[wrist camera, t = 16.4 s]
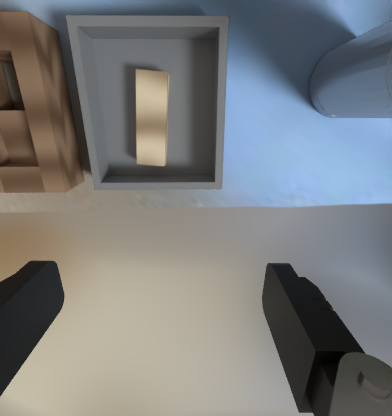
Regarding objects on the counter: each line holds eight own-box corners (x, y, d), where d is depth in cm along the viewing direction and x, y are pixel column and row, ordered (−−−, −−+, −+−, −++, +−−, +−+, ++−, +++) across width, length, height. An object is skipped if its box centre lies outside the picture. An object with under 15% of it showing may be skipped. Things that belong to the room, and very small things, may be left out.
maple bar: (139, 72, 32) (135, 69, 29) (169, 75, 32) (167, 71, 30) (140, 161, 36) (136, 164, 34) (166, 163, 36) (164, 166, 34)
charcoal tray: (85, 30, 30) (65, 15, 26) (223, 31, 31) (228, 15, 26) (106, 180, 38) (94, 189, 33) (218, 180, 38) (221, 189, 33)
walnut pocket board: (-28, 30, 30) (-79, 11, 25) (57, 31, 30) (27, 11, 25) (15, 181, 37) (-16, 192, 32) (84, 181, 38) (65, 192, 32)
